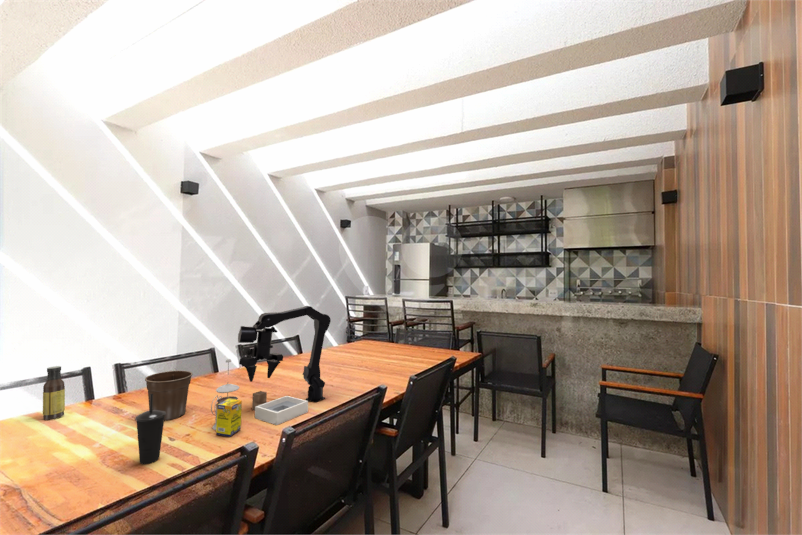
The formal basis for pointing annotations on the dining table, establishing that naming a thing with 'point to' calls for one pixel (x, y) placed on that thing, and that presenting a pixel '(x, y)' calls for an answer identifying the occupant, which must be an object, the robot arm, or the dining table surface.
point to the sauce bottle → (53, 394)
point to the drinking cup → (150, 433)
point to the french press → (224, 389)
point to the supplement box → (228, 417)
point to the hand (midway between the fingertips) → (260, 379)
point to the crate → (284, 414)
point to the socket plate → (281, 406)
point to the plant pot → (169, 392)
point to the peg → (259, 399)
